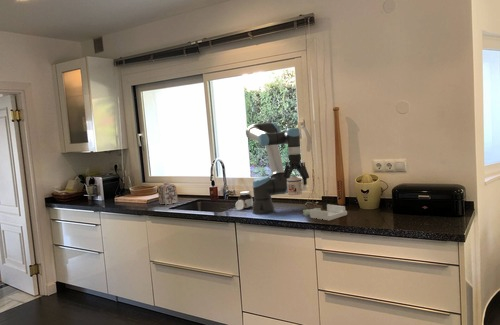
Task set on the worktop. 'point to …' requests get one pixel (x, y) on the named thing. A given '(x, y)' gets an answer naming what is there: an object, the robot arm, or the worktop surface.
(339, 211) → the end holder
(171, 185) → the decorative jar
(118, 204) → the worktop surface
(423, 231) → the worktop surface
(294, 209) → the worktop surface
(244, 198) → the spread jar
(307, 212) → the clip
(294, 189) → the teacup with lid
